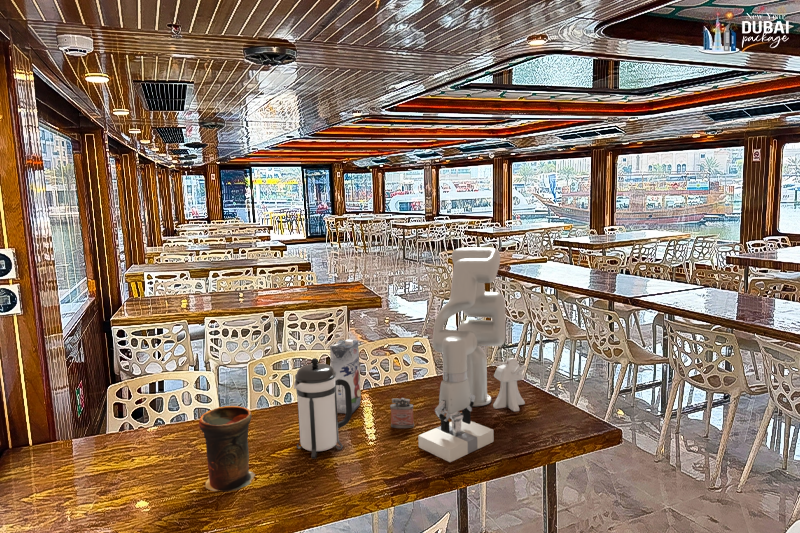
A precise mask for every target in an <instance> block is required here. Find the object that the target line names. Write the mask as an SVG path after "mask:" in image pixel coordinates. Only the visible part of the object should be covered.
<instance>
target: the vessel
mask: <svg viewBox="0 0 800 533" xmlns="http://www.w3.org/2000/svg"><path fill="white" fill-rule="evenodd" d="M251 420H252V412H251V411H250V409H248V408H246V407H244V406H238V405H237V406H236V405H226V406H219V407H216V408H214V409H211V410H207V411H206V412H205V413H203V414H201V416H200V418H199V422H198V427H199V429H200V430H201V432H202V433H203V438H204V439H205V446H206V447H205V449H206V458H207V468H208V476H207V478H208V479H207V480H206V481H205V485H204V486H205V488H206V490H207V489H208V490H210V491H213V492H223V493H226V492H232V491H238V490H240V489H241V488H243V487H247V486H249V485H251V483H252V482H253V481H252V480H254V477H255V476H256V474H255V472H253V471H250V470H249V467H250V466H249V460H250V455H249V454H250V453H249V440H248V439H249V427H250V426H249V425H250V423H251Z"/></svg>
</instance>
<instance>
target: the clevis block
mask: <svg viewBox="0 0 800 533" xmlns="http://www.w3.org/2000/svg"><path fill="white" fill-rule="evenodd" d="M449 430H450V432H449V433H445V432H443V431H441V425H440V426H438V427H435V428H433V429H430V430H428V431H426V432H423V433H421V434H419V435H418V437H417V438H418V439H417V441H418V448H420V449H422V450H423V451H425V452H427V453H430V454H432V455H434V456H436V457H438V458H440V459H443V460H444V461H446V462H448V463H451V462H454V461H456V460H458V459H460V458H462V457H465V456H466V455H468V454H470V453H473V452H475V451H477V450H479V449H481V448H483V447H485V446H487V445H489V444H491V443H493V442H494V439H495V438H494V429H493V428H490V427H488V426H485V425H482V424H481V423H476V422H475V421H472V420H471V423H470V424H467V423H465V422H463V421H462V420H461V433H462V435H460V436H457V437H455V436H453V435H452V421H449Z"/></svg>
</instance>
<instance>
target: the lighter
mask: <svg viewBox="0 0 800 533" xmlns="http://www.w3.org/2000/svg"><path fill="white" fill-rule="evenodd" d="M410 402H411V400H410V398H405V397H401V398H391V403H392V404H390V405H389V407H390V421H391V423H390V427H391V428H395V429H409V428H411V429H412V428H414V427H415V422H414V404H411V403H410Z"/></svg>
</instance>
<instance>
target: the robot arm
mask: <svg viewBox="0 0 800 533" xmlns="http://www.w3.org/2000/svg"><path fill="white" fill-rule="evenodd" d="M451 260H452V264H453V267H452V268H453V270H452V279H451V288H450V298H449V300H448V302H447V303H445V304H444V305H443V307H441V309H439V310H440V311H438V313H437V315H436V317H435V319H434V325H433V331H432V332H433V334H432V347H433V349H434V351H436V352H437V353H442V379H443V380H441V382H440V387H439V396H438V400H439V401H438V405H437V406H436V407H435V408H434V413H435V415H436V417H437V418H438V419H439V420H440V426H441V431H443V432H445V433H449V432H450V430H449V422H450V420H449V419H450V414H453V413H455V412H460V411H461V413H463V419H462V421H463V422H465V423H467V424H470V423H471V421H472V419H471V412H473V407H483V406H486V405H489V404H490V403H491V402H492V397H491V396H490V395H489V394H488V374H487V373H488V371H487V370H488V368H487V367H488V364H487V363H488V361H487V354H486V353H485V350H484V349H483V348H482V347H483V346H484V347H501V346H503V345H504V344H505V342H506V336H507V335H506V334H507V333H506V331H507V330H506V302H505V298H504V295H503V294H502V293H501V292H495V291H486V289H485V284H491V283H493V282H494V281H495V280H496V278H497V275H498V271H499V268H500V265H501V264H500V263H501V253H500V251H499V250H498V249H497V248H494V247H459V248H455V249H454V250H453V251H452V252H451ZM460 312H461V313H462V312H463V314H464V316H466V317H470V318H471V317H473V318H489V320H485V319H484V320H483V319H466V320H463V321H461V323H460V324H459V326H458V330H457V329H455V330H454V329H444V327H445V324H446V322H447V321H448V319H450V318H451V317H452V316H454V315H456V314H458V313H460ZM490 319H491V320H490Z"/></svg>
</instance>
